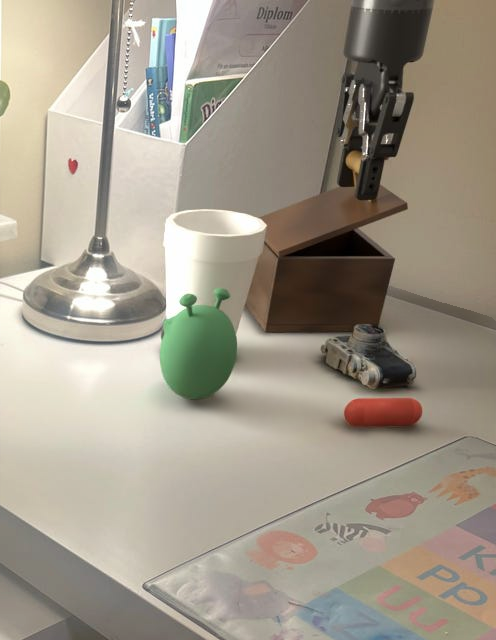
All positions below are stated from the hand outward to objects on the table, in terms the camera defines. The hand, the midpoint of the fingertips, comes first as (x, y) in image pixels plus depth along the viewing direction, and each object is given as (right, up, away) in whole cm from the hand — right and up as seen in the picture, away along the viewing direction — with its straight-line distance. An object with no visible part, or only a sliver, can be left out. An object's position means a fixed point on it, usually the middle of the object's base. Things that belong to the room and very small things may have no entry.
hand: (355, 191), depth 103 cm
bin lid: (-3, -2, +1) cm, 4 cm away
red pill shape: (-3, -28, -15) cm, 32 cm away
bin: (-3, -10, +8) cm, 13 cm away
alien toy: (-20, -24, -11) cm, 33 cm away
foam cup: (-17, -18, -2) cm, 25 cm away
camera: (-1, -21, -5) cm, 22 cm away
